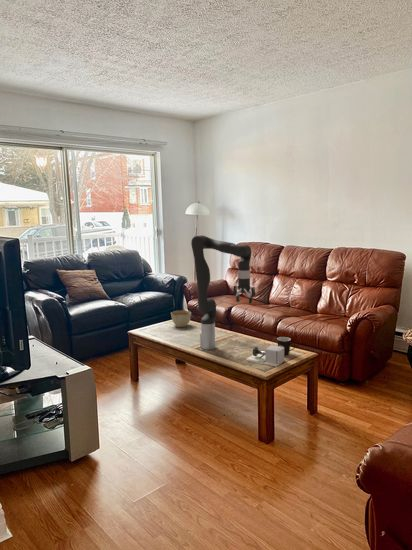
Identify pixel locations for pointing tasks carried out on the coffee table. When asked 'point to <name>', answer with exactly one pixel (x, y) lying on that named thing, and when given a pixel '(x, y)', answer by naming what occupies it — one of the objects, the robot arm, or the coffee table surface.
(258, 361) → the gauge body
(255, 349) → the plunger
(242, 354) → the coffee table surface
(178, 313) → the planter bowl
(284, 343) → the coffee mug
